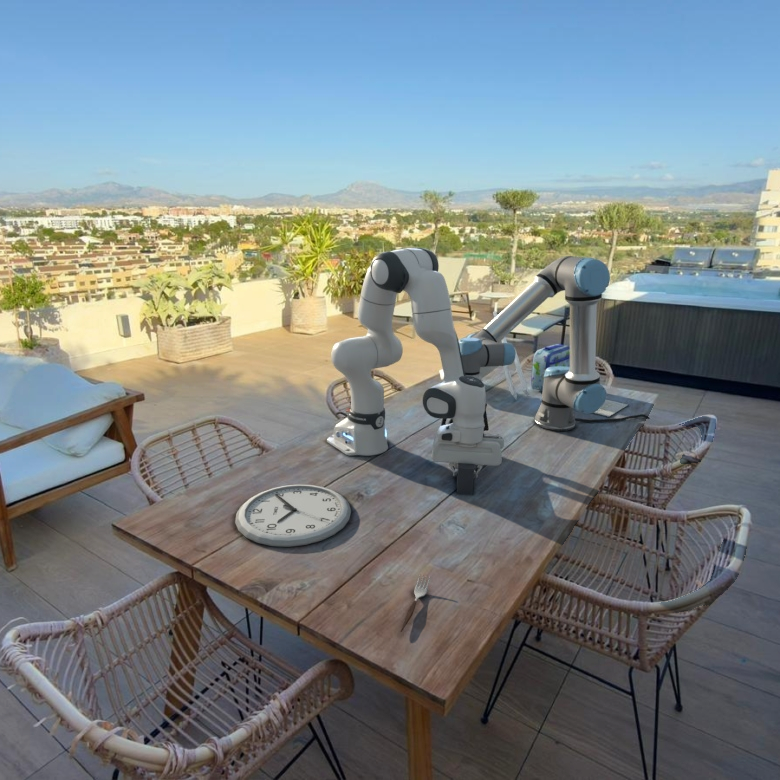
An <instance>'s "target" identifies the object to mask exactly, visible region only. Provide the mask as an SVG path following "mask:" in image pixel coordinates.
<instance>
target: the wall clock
mask: <svg viewBox="0 0 780 780" xmlns="http://www.w3.org/2000/svg"><path fill="white" fill-rule="evenodd" d="M351 514H352V509H351V504H350V503H349V501H348V500H347V499H346V498H345V497H344V496H343V495H341V494H340V493H338V492H337V491H335V490H333V489H330V488H327V487H323V486H318V485H313V484H290V485H289V484H288V485H282V486H277V487H272V488H269V489H267V490H264V491H261V492H259V493H257V494H255V495H254V496H252V497H250V498H248V499H247V500H246V501H245V502H244V503H243V504H242V505H240V507H239V509H238V510H237V511H236V514H235V520H234V524H235V526H236V529H237V531H238V532H239V533H240V534H241V535H242V536H243V537H245V538H246V539H248V540H250V541H252V542H254V543H257V544H261V545H266V546H270V547H283V548H284V547H285V548H286V547H287V548H289V547H298V546H306V545H311V544H313V543H319V542H322V541H324V540H327V539H328V538H330V537H332V536H334V535H336V534H337V533H339V532H340V531H341V530H343V529H345V526H346V525H347V524H348V522H350V518H351Z"/></svg>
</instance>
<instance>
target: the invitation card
mask: <svg viewBox="0 0 780 780" xmlns="http://www.w3.org/2000/svg"><path fill="white" fill-rule="evenodd" d="M628 406H629V404H627V403H623V402H618V401H614V400H609V399H606V400H605V402H604V404H603V405H602V406H601V407H600V409H598V410H597V411H596V412H594V413H593V414H596V415H600V416H604V417H608V418H609V417H611V416H613V415H614V414H616V413H617V412H619V411H621V410H623V409H624V408H626V407H628Z"/></svg>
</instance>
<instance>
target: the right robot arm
mask: <svg viewBox="0 0 780 780" xmlns="http://www.w3.org/2000/svg"><path fill="white" fill-rule="evenodd" d="M610 281H611V273H610V269H609V267H608V266H607V264H606V263H605V262H603V261H602V260H601V259H597V258H594V257H588V256H587V257H586V256H585V257H584V256H574V255H567V256H562V257H560V258H558V259H556V260H554V261H552V262H551V263H550V264H548V265H547V266H546V267H544V268H543V269H542V270H541V271H539V273H537V274H536V275H535V276H534V277H533V281H532V283H531V284H530V285H529V286H527V287H526V288H525V289H524V290H523V291H522V292H521V293H520V294H519V295H517V296H516V297H515V299H513V301H510V303H509V304H508V305H507V306H506V307H505V308H504V309H503V310H501V312H499V313H497V314H498V315H497V316H496V317H495V318H494V317H493V319H492V320H490V321H489V323H487V325H485V326H484V327H483V328H482V329H481V330H480V331H479V332H477V333H471V334H469V335H467V336H466V337H463V338H460V339H461V340H460V341H459V346H460V351H461V356H462V361H463V366H464V371H465V374H466V376H472V377H475V378H478V379H479V376H480V367H489V366H499V367H502V366H505V365H508V366H510V365H512V364H513V363H514V360H515V355H516V352H517V351H516V352H515V349H516V347H515V346H514V345H513V343H511V342H507V343H504V342H503V343H502V341H501V340H502V339H503V338H504V337H506V338H507V337H508V336H509V334H510V333H511V332H512V331H513V330H515V328H517V327H518V326H519V325H520V324H521V323H522V322H523V321H524V320H526V319H527V318H528V316H530V315H531V314H532V313H533V312H534V311H535V310H536V309H538V307H540V306H541V305H542V304H543V303H544V302H545V301H546V300H547V299H549V298H551V299H552V298H554V297H555V296H556V295H557V294H558V293H561V292H563V291H564V300H565V301H566V302H567V303H568V304H569V346H570V367H563V366H556V367H549V368H547V369H546V370H545V374H544V382H543V391H541V392H542V394H541V402H540V405H539V407H538V410H537V411H536V413H535V417H534V424H535V425H536V426H537V427H539V428H542V429H544V430H549V431H556V432H567V431H572V430H574V429H575V428H576V422H583V423H604V422H620V421H626V420H629V419H636V418H645V419H647V420H650V419H651V418H650V417H649V416H648V415H647V414H645V413H644V414H642V413H641V414H635V415H629V416H624V417H618V418H617V417H616V418H597V419H593V418H592V419H587V418H586V419H585V418H577V417H576V416H575V413H574V411H576V412H578V413H581V414H583V415H590V414H595V413H594V412H596V411H597V410H598V409H600V407H601V406H602V405H603V404H604V402H605V400H607V390H606V388H605V387H604V386H603V385H602V384H601V381H600V380H601V375H600V372H599V371H597V370H596V362H597V361H596V357H597V312H598V311H597V309H598V308H597V307H598V306H597V305H598V303H599V302H600V301H601V300H602V297H603V293H604V292H605V291H606V290H607V288H608V287H609V284H610ZM487 407H488V402H487V401H486V405H485V412H484V415H483V420H484V432H488V431H489V430H490V426H489V422H488V413H487ZM447 420H448V422H447ZM451 423H453V419H451V418H450V419H442V418H441V423H440V426H443V425H447V424H451Z"/></svg>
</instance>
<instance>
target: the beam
mask: <svg viewBox="0 0 780 780" xmlns="http://www.w3.org/2000/svg"><path fill="white" fill-rule="evenodd" d="M456 469H458V476H456V494H462V495H463V494H466V495H473V491H474V479H475V478H474V470H475V464H465V463H456Z"/></svg>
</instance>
